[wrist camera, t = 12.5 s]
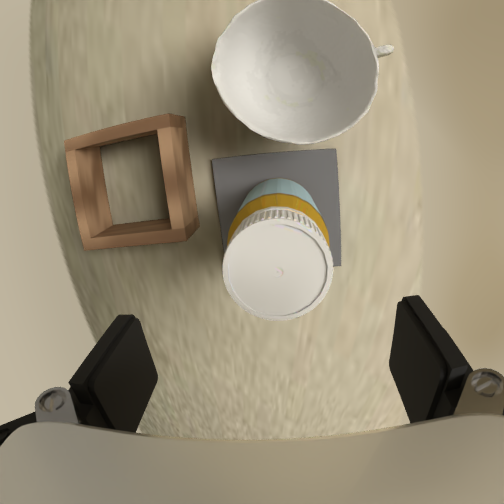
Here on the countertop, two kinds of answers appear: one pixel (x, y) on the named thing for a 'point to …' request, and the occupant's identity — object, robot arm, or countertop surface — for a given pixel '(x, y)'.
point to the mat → (288, 167)
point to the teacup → (296, 69)
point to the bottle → (278, 252)
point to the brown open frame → (95, 195)
